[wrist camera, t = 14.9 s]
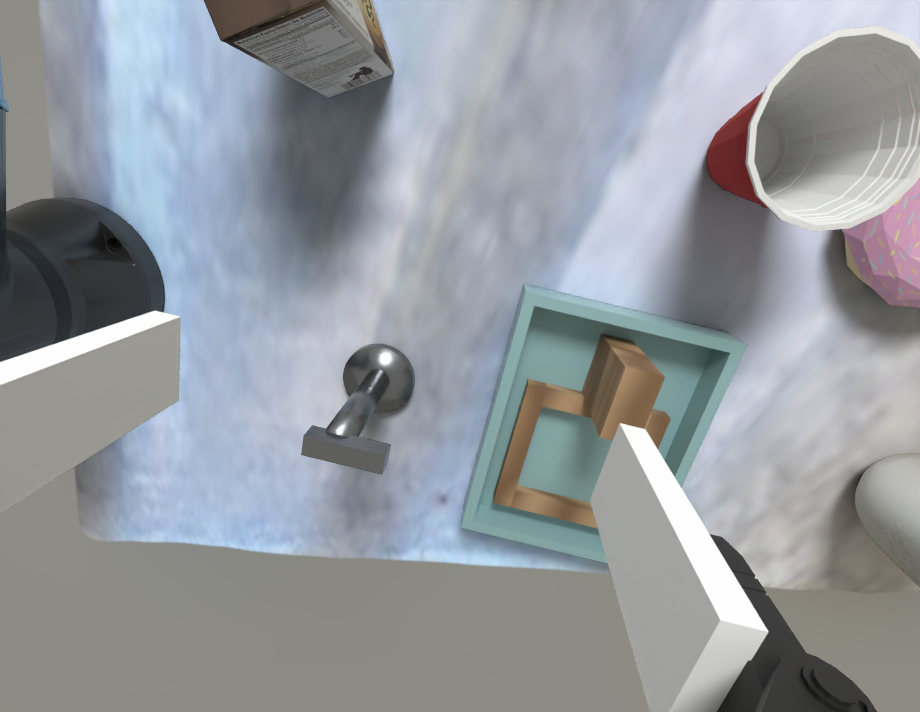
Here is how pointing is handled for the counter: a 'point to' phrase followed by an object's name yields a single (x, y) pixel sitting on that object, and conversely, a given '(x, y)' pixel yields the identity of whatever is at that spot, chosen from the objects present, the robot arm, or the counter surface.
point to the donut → (889, 251)
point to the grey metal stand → (363, 409)
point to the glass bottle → (893, 509)
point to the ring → (602, 398)
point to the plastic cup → (828, 132)
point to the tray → (574, 436)
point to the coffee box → (308, 39)
